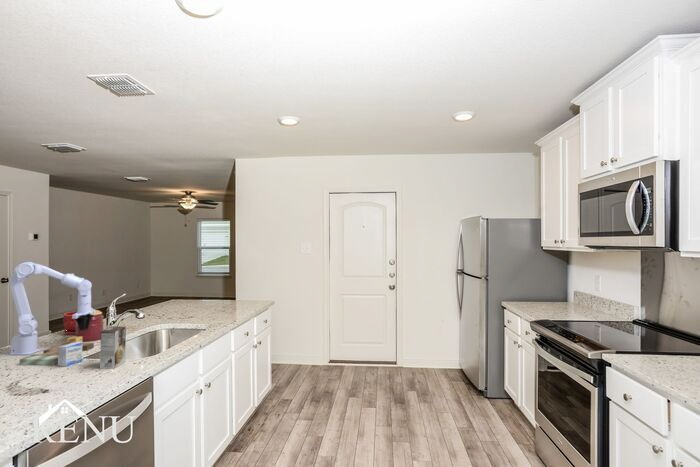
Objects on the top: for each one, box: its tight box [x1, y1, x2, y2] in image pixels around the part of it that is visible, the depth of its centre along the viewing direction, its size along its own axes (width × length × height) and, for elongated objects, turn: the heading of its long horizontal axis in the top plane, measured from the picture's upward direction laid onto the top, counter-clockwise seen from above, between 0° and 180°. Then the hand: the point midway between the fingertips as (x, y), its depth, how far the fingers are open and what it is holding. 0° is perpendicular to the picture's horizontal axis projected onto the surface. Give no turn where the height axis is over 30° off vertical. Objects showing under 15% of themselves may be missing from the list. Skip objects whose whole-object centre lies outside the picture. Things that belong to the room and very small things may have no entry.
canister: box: [74, 306, 105, 343], centre depth 206 cm, size 13×13×18 cm
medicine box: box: [57, 342, 83, 367], centre depth 165 cm, size 8×4×9 cm, turn 168°
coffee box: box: [99, 325, 127, 370], centre depth 163 cm, size 9×6×16 cm
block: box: [66, 335, 83, 344], centre depth 186 cm, size 4×4×4 cm
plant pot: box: [62, 311, 78, 336], centre depth 218 cm, size 13×13×12 cm
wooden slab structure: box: [19, 342, 95, 366], centre depth 176 cm, size 15×26×2 cm, turn 1°
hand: (83, 329), depth 192 cm, fingers closed
